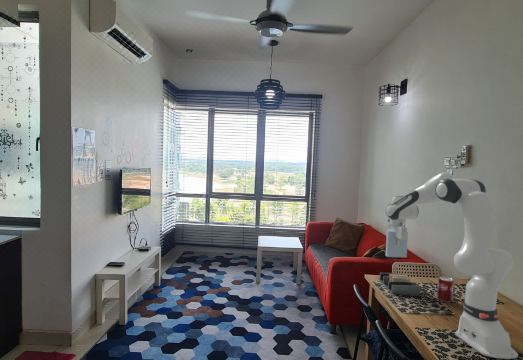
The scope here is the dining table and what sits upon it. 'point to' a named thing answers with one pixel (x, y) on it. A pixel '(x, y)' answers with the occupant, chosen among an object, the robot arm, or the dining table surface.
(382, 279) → the rack
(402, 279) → the offcut front
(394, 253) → the acrylic sheet
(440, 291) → the soda can
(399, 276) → the offcut back
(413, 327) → the dining table surface
